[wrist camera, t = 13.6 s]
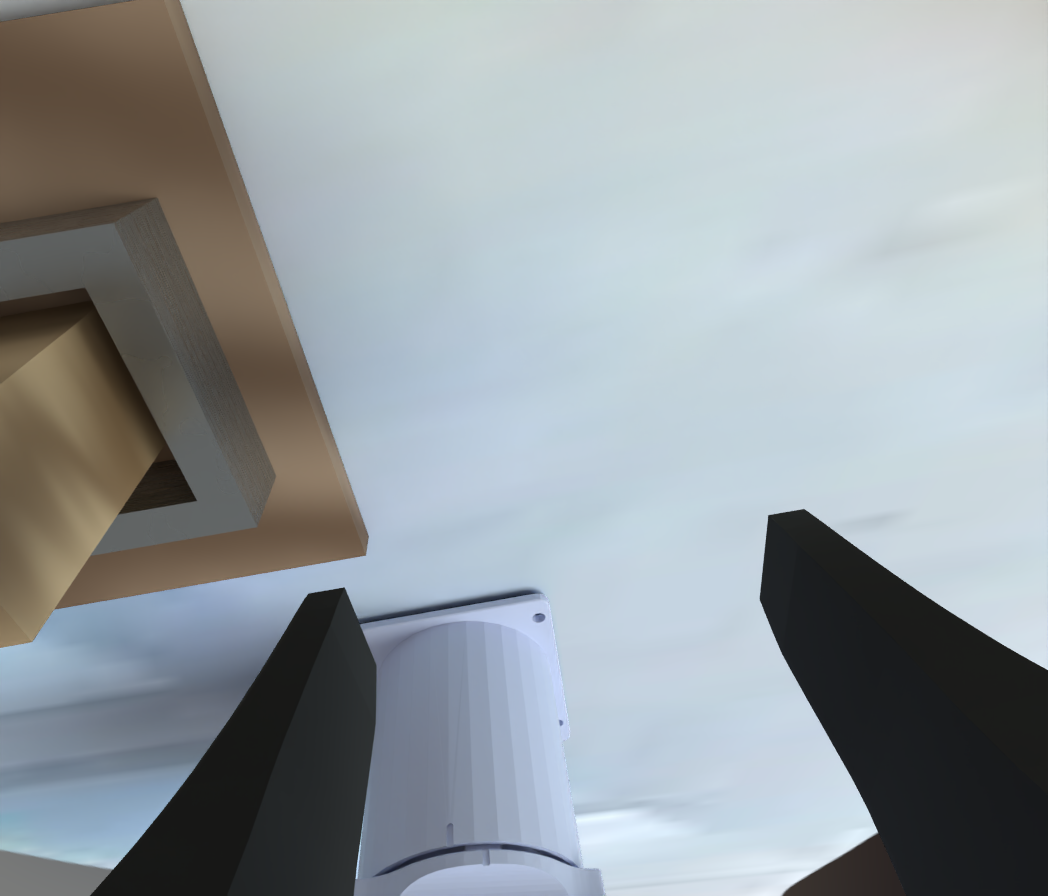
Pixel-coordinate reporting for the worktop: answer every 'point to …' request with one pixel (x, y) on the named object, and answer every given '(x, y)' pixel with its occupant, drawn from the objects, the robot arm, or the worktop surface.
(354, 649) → the robot arm
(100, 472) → the peg
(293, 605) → the worktop surface
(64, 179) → the socket board
